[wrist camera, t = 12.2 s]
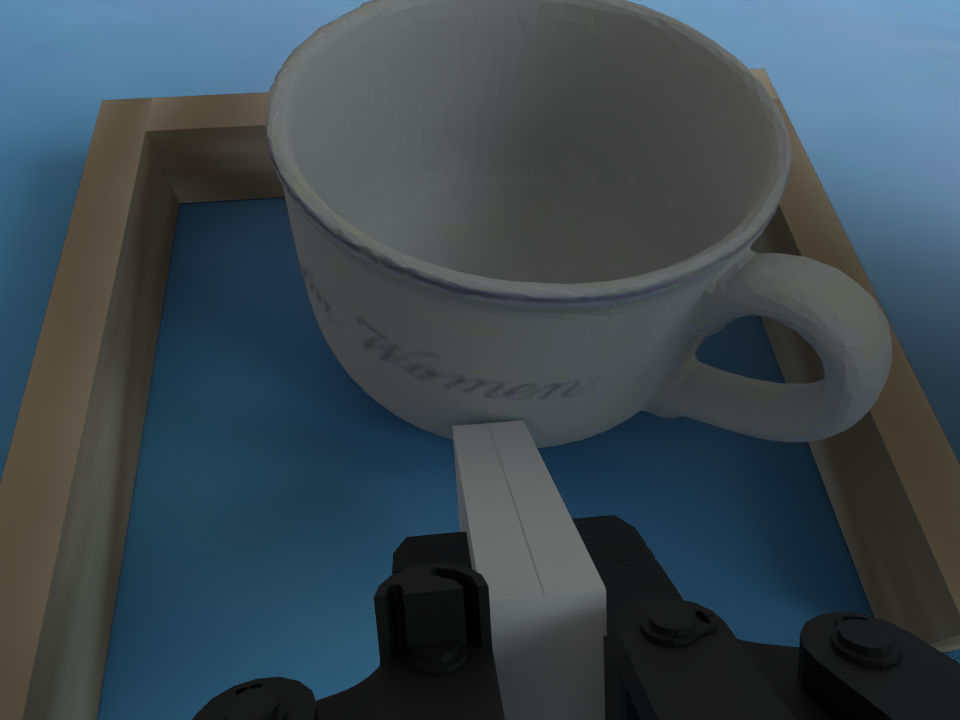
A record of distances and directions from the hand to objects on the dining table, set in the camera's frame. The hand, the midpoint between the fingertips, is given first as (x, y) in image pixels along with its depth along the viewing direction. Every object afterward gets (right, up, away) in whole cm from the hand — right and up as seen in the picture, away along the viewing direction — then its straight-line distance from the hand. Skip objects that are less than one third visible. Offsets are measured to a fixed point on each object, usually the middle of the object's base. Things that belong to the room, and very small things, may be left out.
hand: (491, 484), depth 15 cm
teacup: (+2, +2, +6) cm, 6 cm away
